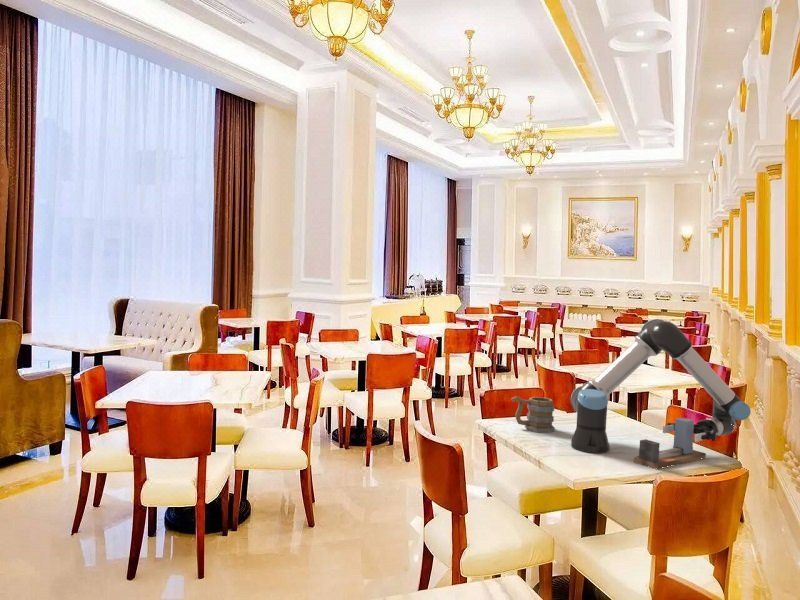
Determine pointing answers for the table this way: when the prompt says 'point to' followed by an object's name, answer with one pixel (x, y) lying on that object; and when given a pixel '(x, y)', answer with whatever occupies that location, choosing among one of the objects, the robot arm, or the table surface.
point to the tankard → (536, 414)
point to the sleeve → (684, 435)
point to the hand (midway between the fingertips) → (679, 433)
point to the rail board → (678, 460)
